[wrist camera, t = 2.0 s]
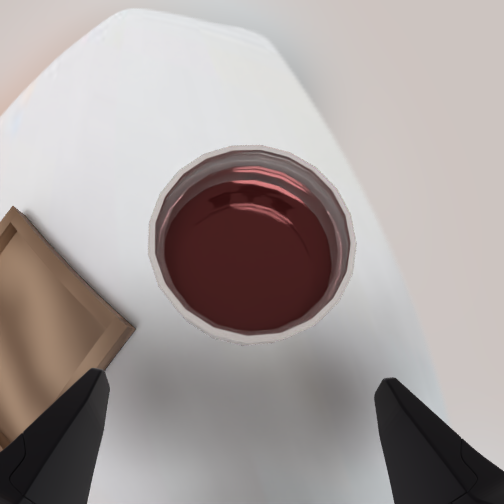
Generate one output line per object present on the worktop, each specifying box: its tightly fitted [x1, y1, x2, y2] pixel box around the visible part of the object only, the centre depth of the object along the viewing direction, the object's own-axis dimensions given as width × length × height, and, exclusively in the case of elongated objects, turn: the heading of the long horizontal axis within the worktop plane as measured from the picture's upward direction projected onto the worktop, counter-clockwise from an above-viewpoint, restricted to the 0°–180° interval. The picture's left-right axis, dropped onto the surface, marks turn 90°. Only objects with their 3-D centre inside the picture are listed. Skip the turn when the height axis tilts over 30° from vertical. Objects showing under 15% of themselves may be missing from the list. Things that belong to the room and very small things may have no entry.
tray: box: [0, 206, 136, 452], centre depth 17 cm, size 16×14×2 cm
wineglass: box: [148, 145, 357, 346], centre depth 15 cm, size 7×7×12 cm
